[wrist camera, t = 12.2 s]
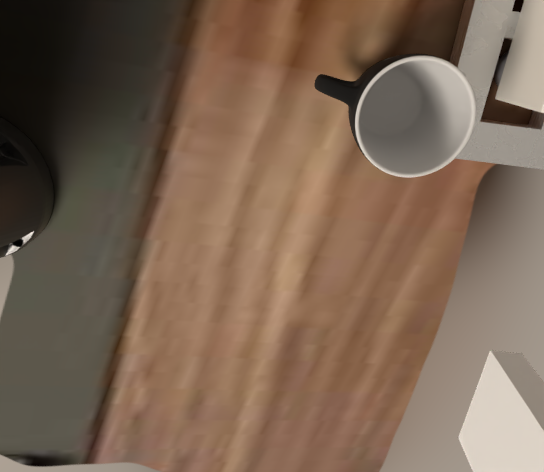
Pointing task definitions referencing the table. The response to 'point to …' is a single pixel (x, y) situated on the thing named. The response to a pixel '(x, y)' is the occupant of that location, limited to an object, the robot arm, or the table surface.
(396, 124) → the mug
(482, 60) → the rail
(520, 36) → the white block
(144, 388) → the table surface
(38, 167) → the robot arm
